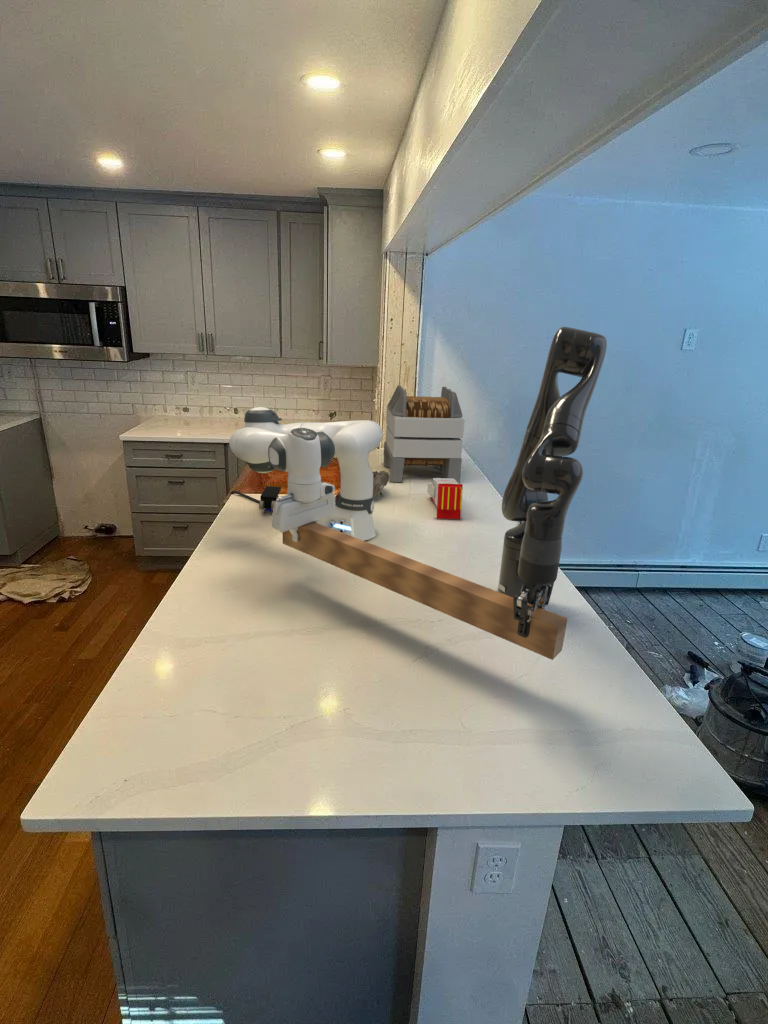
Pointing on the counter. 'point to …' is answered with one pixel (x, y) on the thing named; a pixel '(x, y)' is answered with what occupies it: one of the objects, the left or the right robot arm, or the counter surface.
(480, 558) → the counter surface
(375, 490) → the fossil
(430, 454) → the transformer
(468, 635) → the counter surface
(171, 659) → the counter surface
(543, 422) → the right robot arm
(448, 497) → the toy
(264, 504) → the figurine character
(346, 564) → the post
